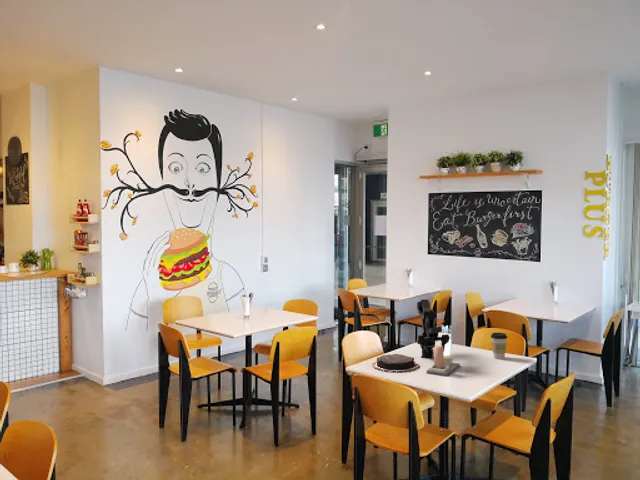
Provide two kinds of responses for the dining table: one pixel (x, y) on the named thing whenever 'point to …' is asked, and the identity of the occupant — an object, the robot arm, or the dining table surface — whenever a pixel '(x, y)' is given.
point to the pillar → (438, 357)
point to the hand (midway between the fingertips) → (435, 351)
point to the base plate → (448, 367)
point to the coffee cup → (499, 345)
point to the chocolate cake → (395, 363)
